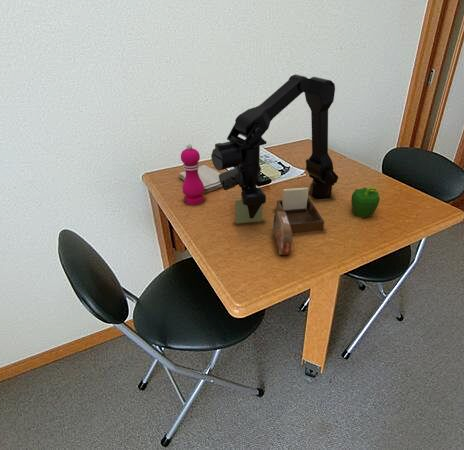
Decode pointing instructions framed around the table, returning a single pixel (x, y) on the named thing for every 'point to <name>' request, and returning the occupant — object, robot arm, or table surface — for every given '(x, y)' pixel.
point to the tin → (282, 232)
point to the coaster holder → (303, 218)
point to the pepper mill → (192, 176)
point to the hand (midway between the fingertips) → (248, 210)
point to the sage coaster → (246, 213)
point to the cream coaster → (295, 198)
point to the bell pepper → (365, 202)
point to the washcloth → (206, 178)
